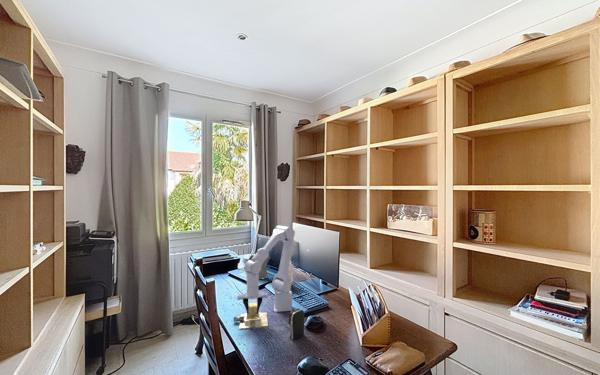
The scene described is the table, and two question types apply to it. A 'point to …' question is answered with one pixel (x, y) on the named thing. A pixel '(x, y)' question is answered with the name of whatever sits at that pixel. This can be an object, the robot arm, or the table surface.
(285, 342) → the table surface
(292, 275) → the ink cartridge box
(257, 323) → the cream square socket base
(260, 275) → the coffeepot
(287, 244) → the robot arm
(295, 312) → the battery charger
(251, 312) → the coupling block
